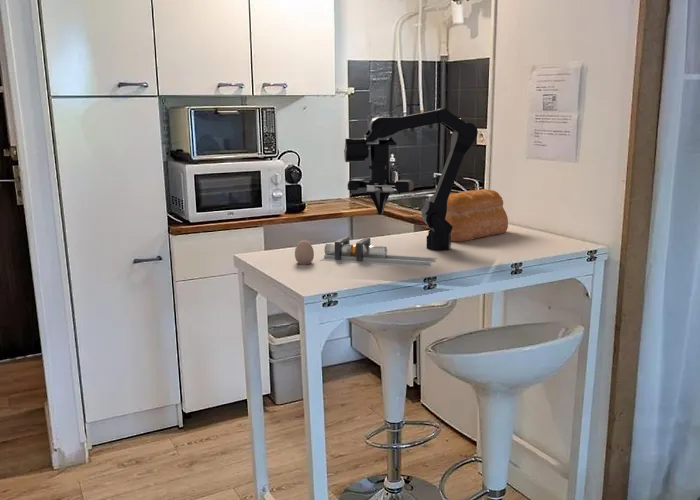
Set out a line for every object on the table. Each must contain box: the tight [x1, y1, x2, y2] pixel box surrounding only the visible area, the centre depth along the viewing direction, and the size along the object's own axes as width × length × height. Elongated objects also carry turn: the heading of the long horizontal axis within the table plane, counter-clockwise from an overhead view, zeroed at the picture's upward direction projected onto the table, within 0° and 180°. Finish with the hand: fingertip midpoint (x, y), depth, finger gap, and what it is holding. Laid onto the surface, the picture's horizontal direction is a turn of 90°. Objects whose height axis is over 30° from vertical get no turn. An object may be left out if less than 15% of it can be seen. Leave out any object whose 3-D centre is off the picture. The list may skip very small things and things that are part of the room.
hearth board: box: [319, 254, 437, 269], centre depth 188 cm, size 31×12×2 cm, turn 69°
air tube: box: [323, 242, 388, 259], centre depth 191 cm, size 18×4×4 cm, turn 69°
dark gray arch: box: [355, 237, 371, 261], centre depth 189 cm, size 2×8×5 cm, turn 159°
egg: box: [294, 239, 315, 266], centre depth 185 cm, size 5×5×7 cm
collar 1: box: [334, 235, 351, 260], centre depth 191 cm, size 2×8×5 cm, turn 159°
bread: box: [445, 188, 509, 242], centre depth 221 cm, size 14×26×15 cm, turn 128°
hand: (380, 214), depth 195 cm, fingers closed
